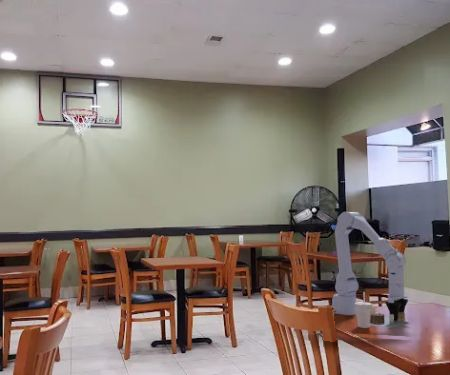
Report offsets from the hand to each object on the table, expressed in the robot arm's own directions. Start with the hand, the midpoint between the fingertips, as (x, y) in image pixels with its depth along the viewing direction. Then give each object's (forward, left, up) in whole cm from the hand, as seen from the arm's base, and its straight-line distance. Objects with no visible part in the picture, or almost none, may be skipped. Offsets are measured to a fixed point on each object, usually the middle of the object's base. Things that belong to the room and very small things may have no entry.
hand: (397, 318), depth 188 cm
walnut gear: (-5, -7, -1) cm, 9 cm away
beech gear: (0, 0, -1) cm, 1 cm away
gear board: (-3, -5, -2) cm, 6 cm away
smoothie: (-7, -18, -2) cm, 19 cm away
